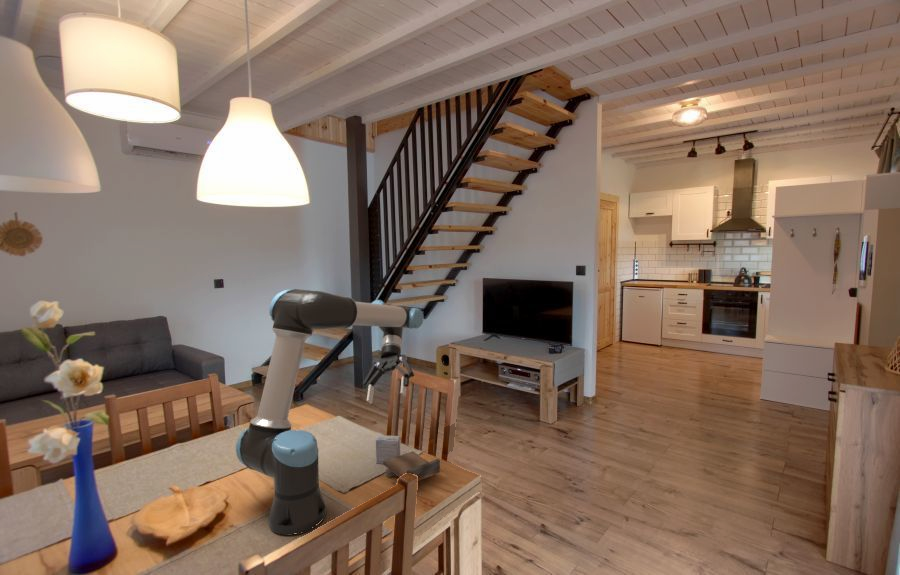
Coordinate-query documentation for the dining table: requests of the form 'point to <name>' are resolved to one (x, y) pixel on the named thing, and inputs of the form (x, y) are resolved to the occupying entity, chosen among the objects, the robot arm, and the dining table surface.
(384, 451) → the medicine box
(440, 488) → the dining table surface
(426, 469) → the roller slab
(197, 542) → the dining table surface
